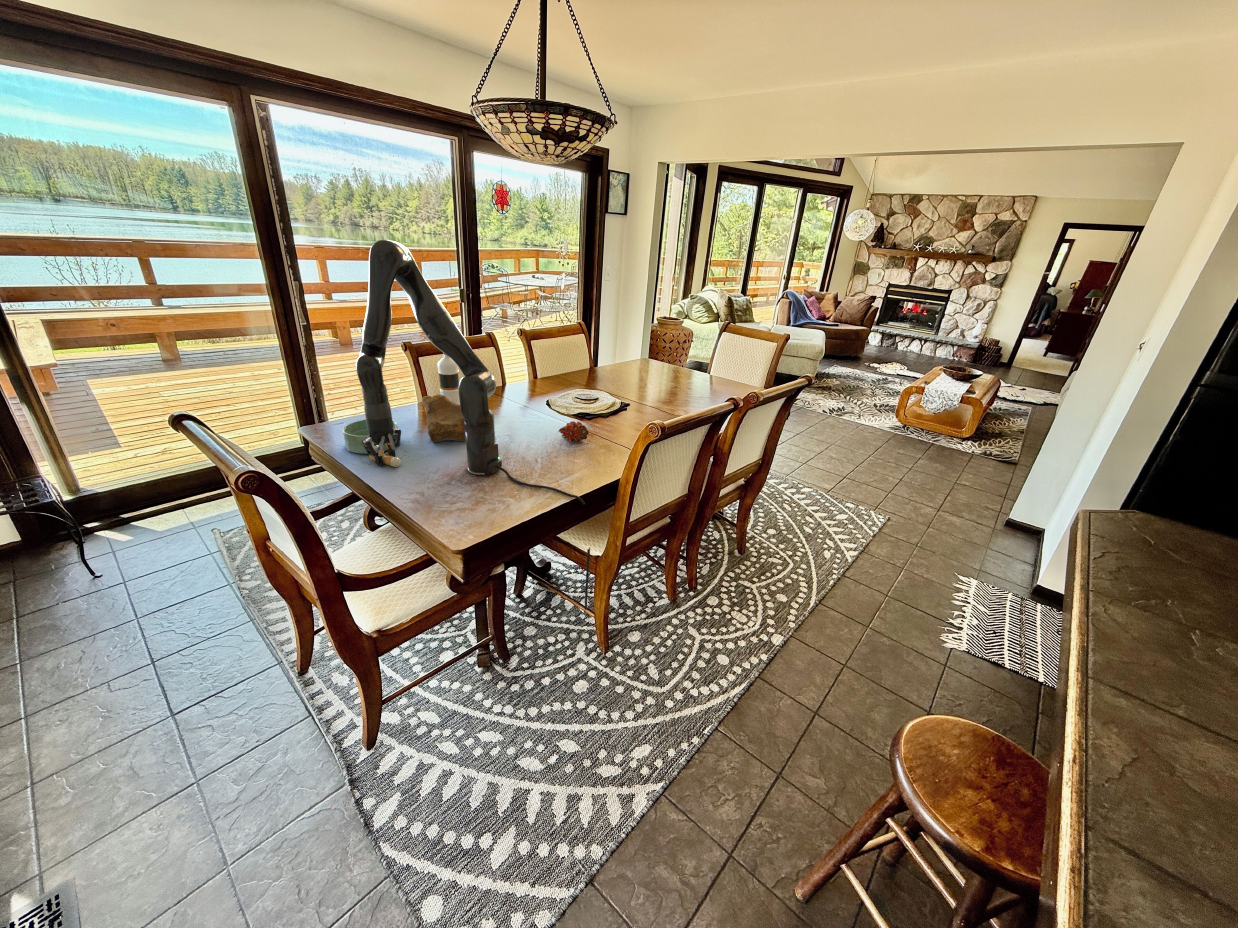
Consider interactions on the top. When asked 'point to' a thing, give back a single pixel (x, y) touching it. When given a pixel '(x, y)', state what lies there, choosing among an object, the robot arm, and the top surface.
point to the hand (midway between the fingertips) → (386, 462)
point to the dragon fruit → (574, 431)
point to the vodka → (449, 379)
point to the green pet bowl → (358, 436)
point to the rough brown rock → (443, 419)
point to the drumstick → (388, 459)
